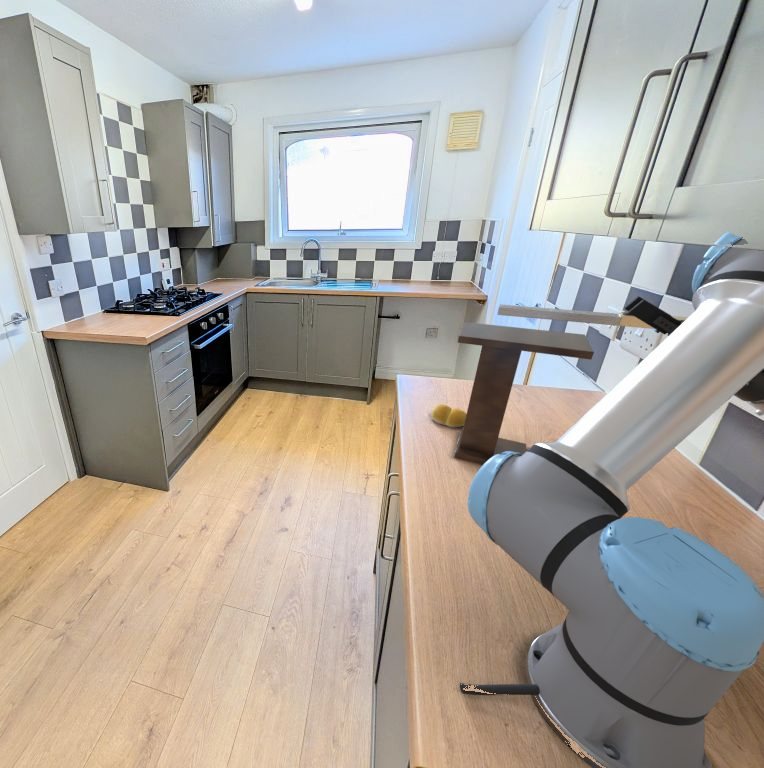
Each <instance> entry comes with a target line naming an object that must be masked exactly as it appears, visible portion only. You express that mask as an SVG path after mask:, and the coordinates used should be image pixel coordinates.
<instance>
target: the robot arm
mask: <svg viewBox="0 0 764 768" xmlns="http://www.w3.org/2000/svg"><path fill="white" fill-rule="evenodd" d="M726 232H727V233H726ZM726 232H725V233H724V234H723V235H721V236H720V237H719V238H718V239H716V241H715V242H714V243H713V244H719V245H725V244H731V245H732V246H733V245H744V244H748V242H747V241H746V240H745V239H742V238H743V237H740V236H735V235H734V234H731V233H730V232H728V231H726ZM702 257H703V259H704V260H703V261H702V263H699V264H698V265H697V266H696V268H695V271H694V273H693V277H692V281H691V289H692V290H691V291H692V298H691V303H692V307H693V310H694V312H693V313H691V314H690V315H689V316H687V317H688V318H687V319H686V320H685V321H684V322H683V323H682V324H681V325H680V326H677V325H679V324H680V323H681V322H680V321H678V320H677V319H675V318H673V317H672V316H673V315H671V314H670V313H668V312H666V311H665V310H663V309H661V308H660V307H658V306H656V305H655V304H653V303H651V302H649V301H648V300H646V299H645V298H643V297H641V296H639V295H637V297H635V298H634V299H633V300H632V301H630V302H629V303H628V304H627V305H625V306H624V307H623V310H626V311H627V312H628V313H630V314H631V315H633V316H635V317H636V318H638V319H640V320H641V321H643V322H645V323H646V324H648V325H650V326H651V327H653V328H655V329H653V330H654V332H655V333H656V334H659V333H661V334H663V335H667V337H665V338H664V340H663V341H662V342H661V343H659V344H658V345H657V346H656V347H655V348H654V349H653V350H652V351H651V352H650V353H649V354H648V355H647V356H646V357H645V358H643V360H641V361H640V362H639V363H638V364H637V365H636V366H635V367H634V368H633V369H632V370H631V371H629V372H628V374H627V375H625V376H624V377H623V378H622V379H621V380H620V381H619V382H618V383H617V384H615V386H614V387H612V389H611V390H609V391H608V392H607V393H606V394H605V395H604V396H603V397H602V398H601V399H600V400H599V401H598V402H596V404H594V405H593V406H592V407H591V408H590V409H589V410H588V411H587V412H586V413H585V414H584V415H583V416H582V417H581V418H579V419H578V421H576V422H575V423H574V424H572V426H571V427H569V429H568V430H567V431H566V432H565V433H563V435H561V436H560V437H559V438H558V439H557V440H556V441H554V442H535V443H534V444H533V445H532V446H530V448H529V449H527V452H525V453H524V454H520V453H518V452H513V451H506V452H502V454H497V455H495V456H493V457H492V458H490V459H489V460H488V461H487V462H485V463H484V465H481V466H480V468H479V469H478V470H477V472H476V473H475V475H474V477H473V478H472V481H471V483H470V486H469V489H468V496H467V497H468V498H467V509H468V513H469V516H470V518H471V519H472V521H473V522H474V523H475V524H476V525H477V526H478V527H479V528H480V529H481V530H482V531H483V532H484V533H485V534H486V536H487V538H488V539H489V540H490V541H492V543H493V544H495V545H496V546H498V547H499V548H500V549H502V551H504V552H505V553H506V554H507V556H509V557H510V558H511V559H513V560H514V562H516V563H517V564H518V565H519V566H520V567H521V568H522V569H523V570H524V571H526V572H527V573H528V574H529V575H530V576H531V578H533V579H534V580H535V581H536V582H538V584H539V585H541V587H543V588H544V589H546V590H547V591H548V592H549V593H550V595H552V596H553V597H554V598H555V599H556V600H557V601H558V602H559V603H560V604H562V605H563V606H564V607H565V608H566V609H567V614H566V617H565V618H564V621H563V622H561V623H560V624H558V625H556V626H555V627H553V628H551V629H549V630H547V631H546V632H544V633H542V634H541V635H539V636H538V637H537V638H536V639H534V640H533V641H532V643H531V645H530V648H529V650H528V652H527V655H526V657H525V660H524V677H525V678H524V679H525V682H526V683H501V684H500V683H499V684H497V683H496V684H471V683H467V684H468V685H469V686H471V685H474V687H475V685H476V687H475V688H474V689H476V688H477V689H479V690H480V689H481V690H483V691H484V692H485V691H486V692H489V693H493V694H487V693H481V692H475V691H465V690H463V688H465V687H466V686H467V687H466V688H467V689H468V685H464V684H465V683H462V682H460V683H459V689H460V692H461V694H463V695H469V696H470V695H471V696H495V695H494V693H496V694H507V695H506V696H531V698H532V700H533V703H534V705H536V708H537V709H538V711H539V713H540V715H541V716H542V718H543V719H544V720H545V721H546V723H547V724H548V726H549V727H550V728H551V729H552V731H553V732H554V733H555V734H556V735H557V736H558V737H559V738H560V740H561V741H562V742H563V743H564V744H565V745H567V744H568V745H569V744H570V742H569V741H568V740H567V739H566V738H565V737H564V736H563V735H562V733H561V732H560V731H559V730H558V729H557V728H556V727H555V725H554V724H553V723H552V722H551V721H550V719H549V718H548V717H547V715H546V714H545V712H546V713H547V714H548V715H549V717H550V718H551V719H552V720H553V721H554V722H555V723H556V724H557V726H558V727H560V729H561V730H562V731H563V732H564V734H565V735H567V736H568V737H569V738H571V739H572V740H573V741H575V742H576V743H577V744H578V745H579V746H580V747H581V748H582V749H583V750H584V751H586V752H587V754H588V755H590V756H591V757H593V759H595V760H596V762H598V763H600V764H601V765H602V766H604V767H606V768H711V767H712V766H713V763H712V762H711V760H710V758H708V756H707V755H706V749H705V733H706V732H705V729H706V728H705V718H706V716H707V715H708V714H709V713H710V712H711V711H712V709H713V708H714V707H715V706H716V705H717V703H718V702H719V701H720V700H721V699H722V697H723V696H724V695H725V694H726V692H727V691H728V690H729V689H730V688H731V686H732V685H733V684H734V683H735V682H736V680H737V679H738V678H739V677H740V675H741V674H742V673H743V672H744V670H746V669H749V668H750V667H752V666H753V665H754V664H755V663H756V662H757V658H758V656H759V655H760V651H759V650H760V648H761V647H762V646H763V644H764V596H763V595H764V594H763V593H762V591H761V589H760V588H759V586H758V585H757V584H756V582H755V581H754V579H752V577H751V576H749V574H747V572H745V571H744V569H742V568H741V567H740V566H739V565H738V564H737V563H736V562H734V561H733V560H732V559H731V558H730V557H729V556H727V555H726V554H724V553H723V552H721V551H720V550H719V549H717V548H716V547H714V546H713V545H711V544H709V543H708V542H706V541H705V540H703V539H701V538H699V537H698V536H696V535H694V534H692V533H690V532H688V531H686V530H683V529H681V528H679V527H676V526H671V527H670V528H669V527H668V526H666V525H665V524H664V523H663V522H662V521H659V520H655V519H652V518H647V517H640V516H627V517H623V516H625V515H626V514H627V513H628V512H629V511H630V509H631V507H630V503H629V497H628V494H627V492H628V490H629V489H630V488H631V487H633V486H634V485H635V484H636V483H637V482H638V481H639V480H640V479H641V478H643V477H644V476H645V475H646V474H647V473H649V472H650V470H652V468H654V467H655V466H656V465H658V463H659V462H661V461H662V460H663V459H664V458H665V457H666V456H667V455H668V454H669V453H671V452H672V451H673V450H674V449H676V447H677V446H678V445H680V444H681V443H682V442H683V441H684V440H685V439H686V438H687V437H689V435H691V434H692V433H693V432H694V431H695V430H696V429H697V428H698V427H700V426H701V425H702V424H703V423H705V422H706V420H707V419H709V418H710V417H711V416H712V415H713V414H714V413H716V412H717V411H718V410H719V409H720V408H721V407H723V405H724V404H726V403H727V402H728V401H729V400H730V399H731V398H732V397H733V396H734V397H736V398H738V399H739V400H740V401H743V402H746V403H747V404H748V405H750V406H751V407H753V408H755V409H756V410H755V414H756V415H758V416H760V417H761V416H764V251H758V250H747V249H739V248H732V247H725V246H712V245H711V246H710V247H709V248H708V250H707V251H706V252H705V253H704V255H703V256H702ZM461 684H462V685H461ZM477 685H478V686H477ZM466 688H465V689H466ZM469 688H470V687H469ZM508 694H509V695H508ZM535 696H536V697H535ZM536 698H537V699H536ZM537 700H538V701H539V703H540V705H541V706H542V707H543V709H544V710H545V712H544V711H543V709H542V708H541V706H540V705H539V703H538V701H537ZM565 741H566V742H567V743H566V742H565ZM568 742H569V743H568ZM568 745H567V746H568ZM570 745H571V744H570ZM570 745H569V746H570ZM569 746H568V747H569ZM570 747H571V746H570ZM570 747H569V748H570ZM579 753H580V752H579ZM579 753H578V754H579ZM581 753H582V752H581ZM581 753H580V754H581ZM582 754H583V753H582ZM582 754H581V755H582ZM583 755H584V754H583ZM584 756H585V755H584ZM582 760H583V761H584V762H586V763H587V764H588V765H590V766H591V767H592V768H602V767H600V766H599V765H597V764H596V763H595V762H593V761H592V760H591V759H589V758H588V757H586V756H585V757H584V758H583V759H582Z"/></svg>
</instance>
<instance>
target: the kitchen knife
mask: <svg viewBox="0 0 764 768" xmlns="http://www.w3.org/2000/svg"><path fill="white" fill-rule="evenodd" d="M497 316H506V317H516V318H517V317H518V318H529V319H539V320H540V319H541V320H548V321H549V320H550V321H561V322H570V323H571V322H573V323H582V324H583V323H584V324H594V325H606V326H616V327H627V328H628V327H629V328H630V327H631V328H638V329H639V328H640V329H651V330H656V329H655V328H653V327H651V326H650V325H648V324H646V323H645V322H643V321H641V320H640V319H638V318H636V317H635V316H633V315H631V314H630V313H628V311H627V312H626V311H625V312H624V311H619V312H618V313H614V312H613V313H612V312H599V311H589V310H577V309H576V310H575V309H564V308H563V309H562V308H549V307H538V306H526V305H514V304H513V305H511V304H499V306H498V309H497ZM671 316H672V317H673V318H675V319H677V320H678V321H680V322H681V323H680V324H679V325H677V326H680V325H681V324H682V323H683V322H684V321H685V320H686V319H687V318H688V317H689V316H679V315H671Z"/></svg>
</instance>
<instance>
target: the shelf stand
mask: <svg viewBox="0 0 764 768" xmlns="http://www.w3.org/2000/svg"><path fill="white" fill-rule="evenodd" d="M457 343H458V344H466V345H474V346H481V349H480V352H479V357H478V362H477V365H476V371H475V375H474V380H473V384H472V388H471V393H470V396H469V402H468V406H467V411H466V419H465V423H464V426H463V428H461V429H460V431H459V435H458V440H457V444H456V448H455V452H454V456H453V458H454V459H458V460H461V461H466V462H470V463H474V464H476V465H480V466H483V465H484V463H485V462H487V461H488V460H489V459H490V458H492V457H493V456H495V455H497V454H502V452H506V451H513V452H518V453H520V454H524V453H525V452H527V451H528V449H527V443H525V442H522V441H521V442H520V441H515V440H512V439H507V438H502V437H499V436H500V432H501V429H502V425H503V421H504V417H505V414H506V410H507V406H508V403H509V399H510V395H511V392H512V388H513V384H514V381H515V377H516V373H517V369H518V366H519V363H520V358H521V354H522V352H528V353H536V354H543V355H552V356H560V357H568V358H574V359H575V358H576V359H581V360H582V359H583V360H590V361H591V360H592V359H593V357H594V354H595V351H594V349H593V346H592V345H591V344H590V343H591V342H589V340H588V338H587V336H586V334H585V333H584V334H583V333H575V332H574V333H573V332H565V331H563V332H562V331H553V330H546V329H545V330H544V329H536V328H526V327H525V328H524V327H515V326H507V325H506V326H505V325H497V324H496V325H495V324H487V323H477V322H468V321H465V322H464V323H463V324H462V327H461V329H460V332H459V335H458V338H457Z"/></svg>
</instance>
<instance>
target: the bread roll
mask: <svg viewBox="0 0 764 768" xmlns="http://www.w3.org/2000/svg"><path fill="white" fill-rule="evenodd" d="M466 414H467V412H465V411H464V410H462V409H460V408H459V407H458V408H457V407H453V408H452V407H450V406H449V405H447V404H445V403H443V404H438V405H436V406H435V407H433V409H432V410H431V411H430V415H429V417H430V419H431V420H432V421H433V422H435V423H436V424H439V425H443V426H447V427H449V428H455V429H456V428H461V427H464V423H465V419H466Z"/></svg>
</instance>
